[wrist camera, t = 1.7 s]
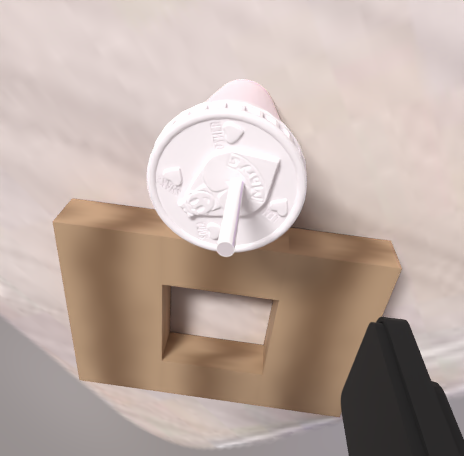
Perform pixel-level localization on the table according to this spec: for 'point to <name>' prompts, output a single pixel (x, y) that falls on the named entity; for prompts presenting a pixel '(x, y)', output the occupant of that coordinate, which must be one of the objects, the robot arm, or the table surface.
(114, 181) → the table surface
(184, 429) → the table surface
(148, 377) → the socket board
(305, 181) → the smoothie
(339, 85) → the table surface
